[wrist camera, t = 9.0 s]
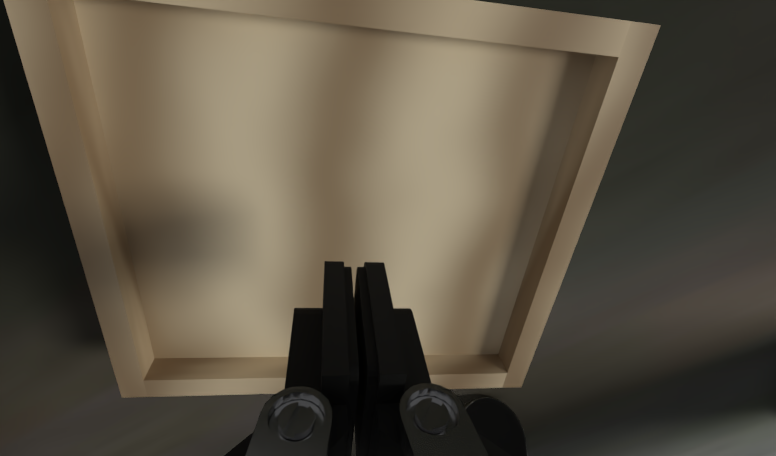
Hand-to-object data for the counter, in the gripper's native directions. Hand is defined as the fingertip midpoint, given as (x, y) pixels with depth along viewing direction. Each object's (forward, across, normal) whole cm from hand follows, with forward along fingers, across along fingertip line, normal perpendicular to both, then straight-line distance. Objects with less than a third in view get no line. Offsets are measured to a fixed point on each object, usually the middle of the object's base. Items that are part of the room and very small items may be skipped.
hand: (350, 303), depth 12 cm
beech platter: (+7, 0, 0) cm, 7 cm away
